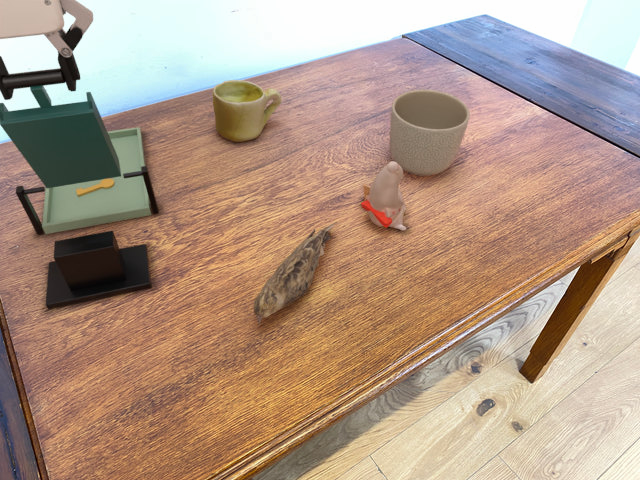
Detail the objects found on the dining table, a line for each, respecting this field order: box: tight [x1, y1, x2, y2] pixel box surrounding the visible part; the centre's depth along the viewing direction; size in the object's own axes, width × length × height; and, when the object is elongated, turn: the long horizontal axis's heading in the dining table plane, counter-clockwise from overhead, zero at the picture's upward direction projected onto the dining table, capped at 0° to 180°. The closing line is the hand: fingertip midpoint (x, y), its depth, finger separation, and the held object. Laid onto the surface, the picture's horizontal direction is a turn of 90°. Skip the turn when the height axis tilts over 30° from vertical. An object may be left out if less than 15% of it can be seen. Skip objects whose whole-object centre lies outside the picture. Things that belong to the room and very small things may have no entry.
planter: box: [389, 89, 471, 177], centre depth 86 cm, size 12×12×11 cm
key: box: [76, 179, 115, 197], centre depth 82 cm, size 6×2×1 cm, turn 126°
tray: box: [41, 126, 153, 235], centre depth 84 cm, size 23×15×2 cm, turn 18°
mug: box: [212, 79, 282, 143], centre depth 93 cm, size 12×10×10 cm
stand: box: [15, 165, 160, 310], centre depth 70 cm, size 16×17×8 cm
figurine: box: [360, 160, 407, 231], centre depth 75 cm, size 9×7×12 cm
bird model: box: [253, 221, 338, 325], centre depth 69 cm, size 21×6×5 cm
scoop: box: [0, 67, 121, 189], centre depth 64 cm, size 19×10×4 cm
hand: (41, 88), depth 59 cm, fingers closed on scoop, 6 cm apart
